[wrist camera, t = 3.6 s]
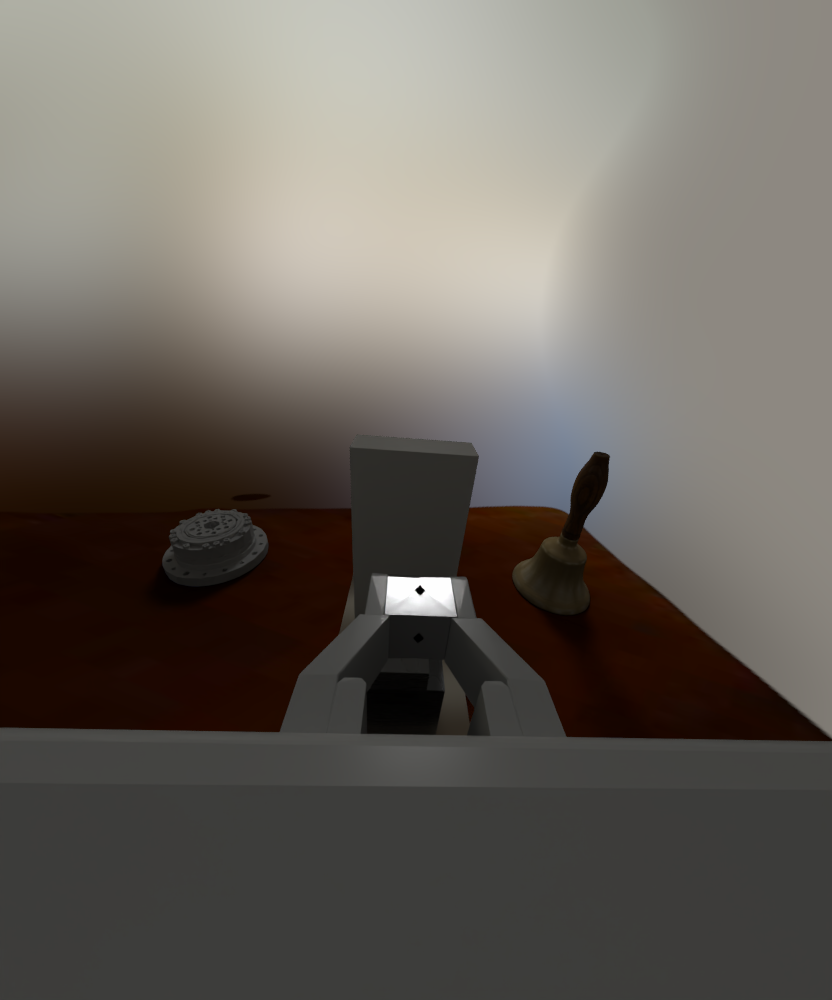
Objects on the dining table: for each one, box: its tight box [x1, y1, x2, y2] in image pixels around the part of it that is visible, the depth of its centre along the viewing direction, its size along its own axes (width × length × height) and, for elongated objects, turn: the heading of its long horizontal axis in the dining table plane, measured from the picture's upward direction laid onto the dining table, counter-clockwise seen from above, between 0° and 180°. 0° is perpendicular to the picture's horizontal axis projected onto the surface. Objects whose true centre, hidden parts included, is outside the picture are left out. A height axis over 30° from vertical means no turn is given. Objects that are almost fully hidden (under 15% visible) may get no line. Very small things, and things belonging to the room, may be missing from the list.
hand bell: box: [512, 452, 610, 615], centre depth 31 cm, size 8×8×16 cm
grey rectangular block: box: [350, 435, 479, 618], centre depth 19 cm, size 4×6×15 cm, turn 91°
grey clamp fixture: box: [367, 658, 445, 735], centre depth 29 cm, size 26×5×7 cm, turn 1°
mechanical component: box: [162, 509, 268, 586], centre depth 34 cm, size 10×4×10 cm
